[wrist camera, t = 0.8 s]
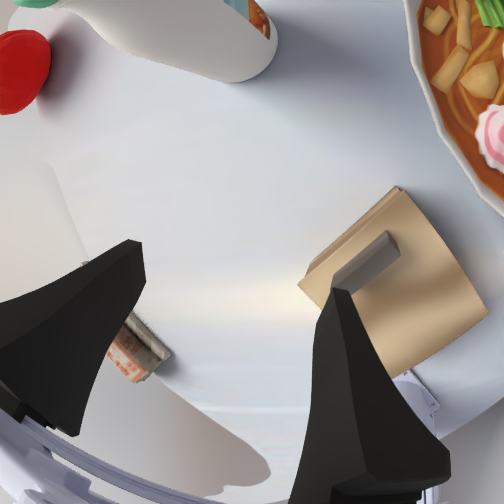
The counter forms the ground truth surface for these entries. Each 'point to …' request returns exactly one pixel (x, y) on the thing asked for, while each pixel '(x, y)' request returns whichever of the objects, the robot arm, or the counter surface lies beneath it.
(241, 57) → the milk bottle
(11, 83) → the tomato
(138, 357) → the packaged product
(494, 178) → the ramen bowl
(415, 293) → the carton lid
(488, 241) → the counter surface
